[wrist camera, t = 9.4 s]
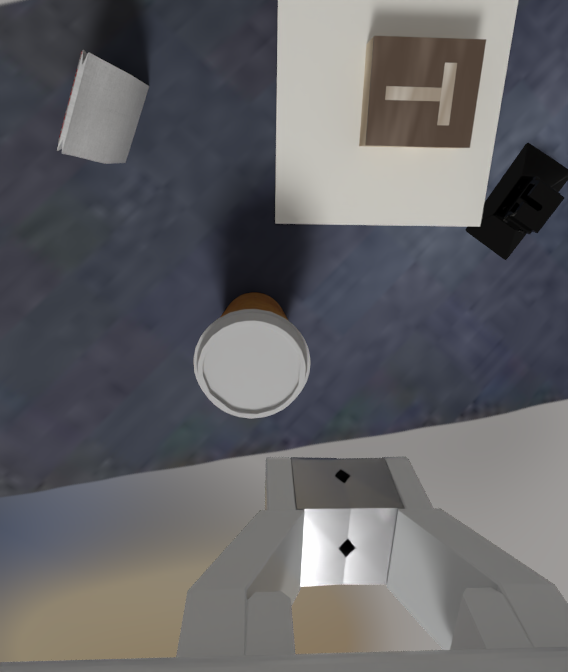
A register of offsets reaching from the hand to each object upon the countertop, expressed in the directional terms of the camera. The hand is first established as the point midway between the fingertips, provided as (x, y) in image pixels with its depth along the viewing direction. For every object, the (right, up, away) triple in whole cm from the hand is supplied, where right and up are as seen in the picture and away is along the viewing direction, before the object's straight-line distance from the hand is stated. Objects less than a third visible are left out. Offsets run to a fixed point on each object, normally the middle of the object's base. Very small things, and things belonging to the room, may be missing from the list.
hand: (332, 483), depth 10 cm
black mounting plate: (+21, +16, +36) cm, 45 cm away
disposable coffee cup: (-4, +5, +38) cm, 39 cm away
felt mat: (+8, +24, +31) cm, 40 cm away
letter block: (+6, +24, +29) cm, 38 cm away
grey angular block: (-16, +22, +31) cm, 41 cm away
